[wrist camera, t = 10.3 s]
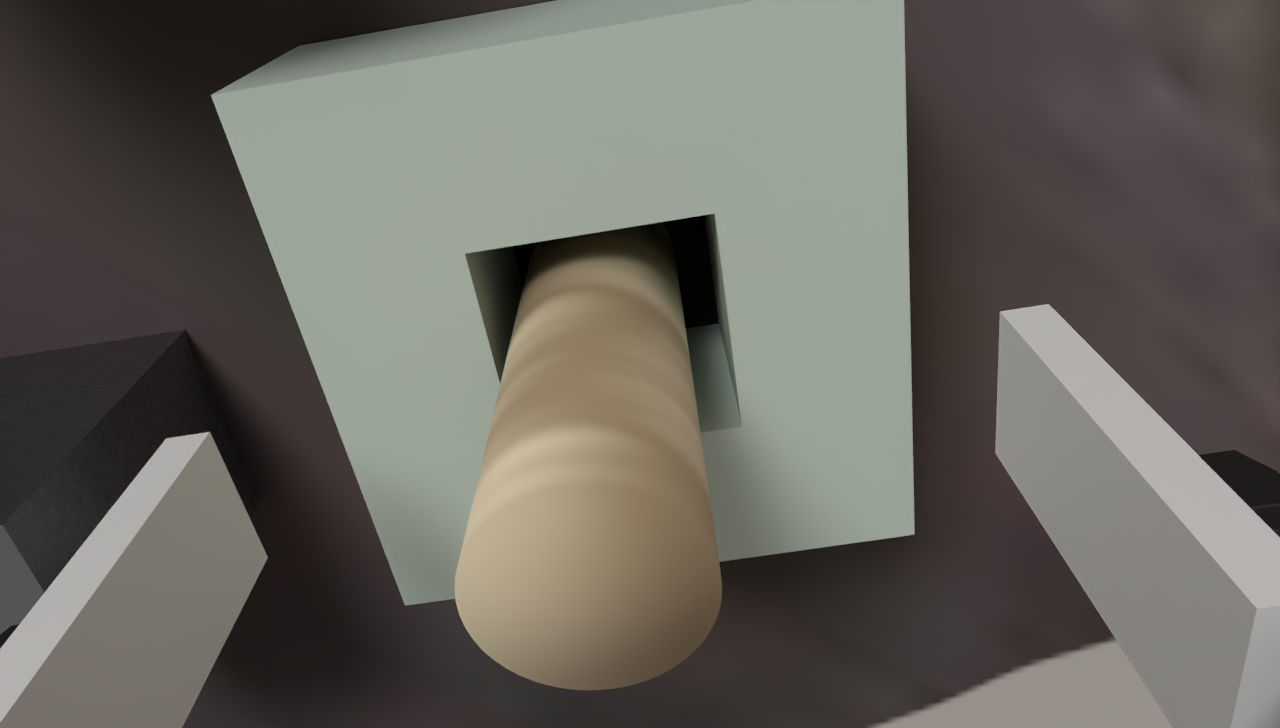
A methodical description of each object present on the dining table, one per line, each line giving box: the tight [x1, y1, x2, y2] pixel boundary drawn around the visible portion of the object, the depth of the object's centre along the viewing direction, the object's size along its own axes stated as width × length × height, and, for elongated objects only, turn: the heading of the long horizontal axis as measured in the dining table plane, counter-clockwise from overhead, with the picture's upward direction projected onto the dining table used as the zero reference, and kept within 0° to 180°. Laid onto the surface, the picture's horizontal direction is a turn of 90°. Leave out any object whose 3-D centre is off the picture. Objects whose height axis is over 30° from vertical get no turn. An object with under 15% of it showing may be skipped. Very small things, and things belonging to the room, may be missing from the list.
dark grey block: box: [0, 330, 260, 634], centre depth 22 cm, size 6×6×8 cm
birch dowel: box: [455, 222, 722, 690], centre depth 18 cm, size 4×4×12 cm
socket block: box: [211, 0, 915, 605], centre depth 21 cm, size 12×12×5 cm
